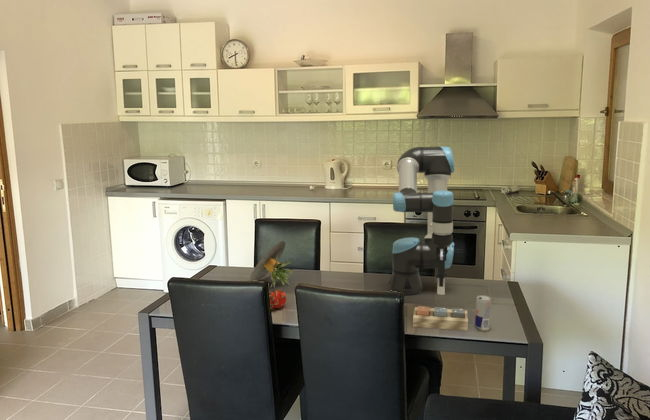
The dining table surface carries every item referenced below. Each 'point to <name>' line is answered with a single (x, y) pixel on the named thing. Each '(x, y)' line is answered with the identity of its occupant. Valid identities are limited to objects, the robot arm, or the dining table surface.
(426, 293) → the dining table surface
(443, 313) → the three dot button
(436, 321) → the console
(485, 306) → the energy drink
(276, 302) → the dragon fruit
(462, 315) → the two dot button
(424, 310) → the one dot button
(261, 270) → the grey yellow green piece
